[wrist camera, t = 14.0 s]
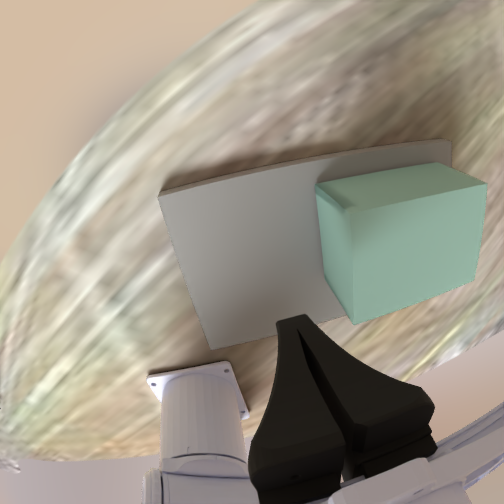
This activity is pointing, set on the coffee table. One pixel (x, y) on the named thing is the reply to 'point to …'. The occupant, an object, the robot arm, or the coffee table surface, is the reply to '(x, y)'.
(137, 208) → the coffee table surface
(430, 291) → the block
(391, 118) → the coffee table surface
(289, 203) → the base
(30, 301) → the coffee table surface
